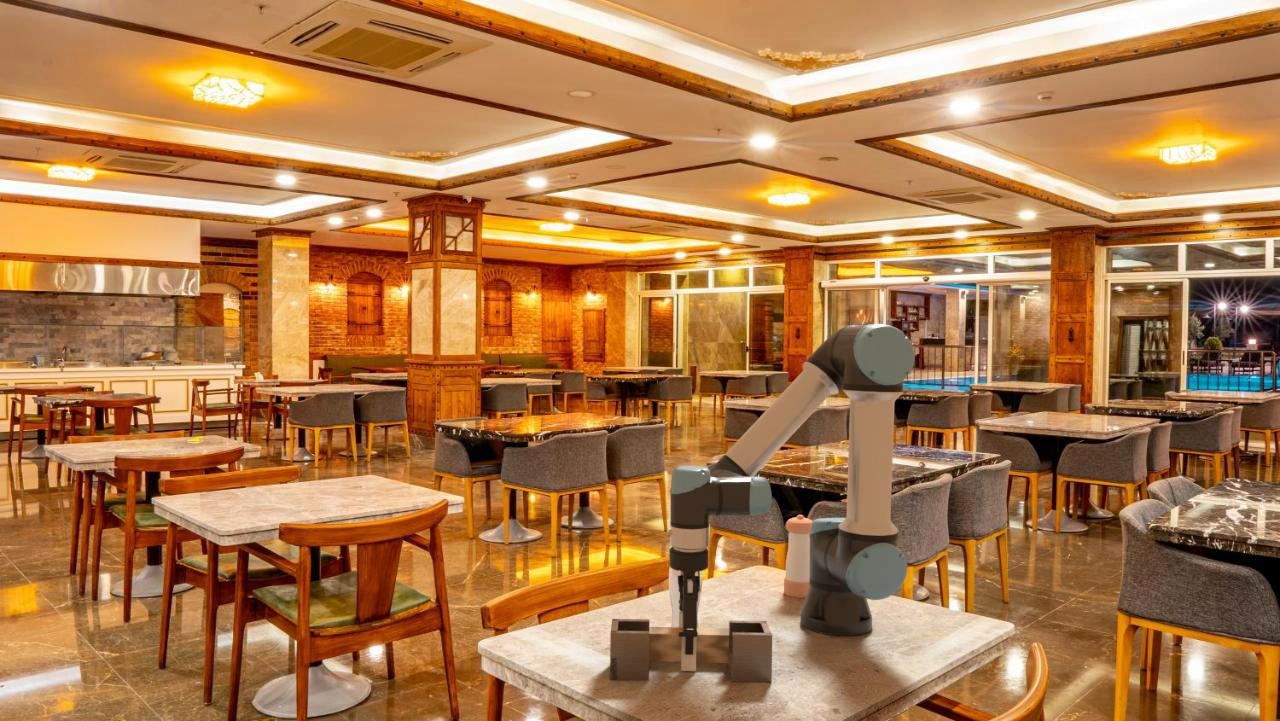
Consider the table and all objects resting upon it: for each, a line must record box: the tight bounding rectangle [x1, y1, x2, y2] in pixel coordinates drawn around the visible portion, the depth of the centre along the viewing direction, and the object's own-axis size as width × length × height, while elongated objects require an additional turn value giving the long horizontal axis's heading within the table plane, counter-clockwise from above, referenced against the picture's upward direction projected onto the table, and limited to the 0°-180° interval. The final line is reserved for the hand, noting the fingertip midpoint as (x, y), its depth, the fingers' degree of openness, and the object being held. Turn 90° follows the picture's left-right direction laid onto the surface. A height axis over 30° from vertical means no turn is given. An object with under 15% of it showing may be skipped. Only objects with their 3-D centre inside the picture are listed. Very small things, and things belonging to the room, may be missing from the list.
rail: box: [649, 626, 729, 664], centre depth 168 cm, size 22×4×6 cm, turn 88°
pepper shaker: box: [783, 514, 814, 599], centre depth 212 cm, size 7×7×19 cm
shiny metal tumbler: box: [668, 566, 703, 628], centre depth 182 cm, size 7×7×15 cm
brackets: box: [609, 618, 773, 683], centre depth 161 cm, size 29×8×8 cm, turn 89°
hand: (686, 657), depth 168 cm, fingers open, 13 cm apart
